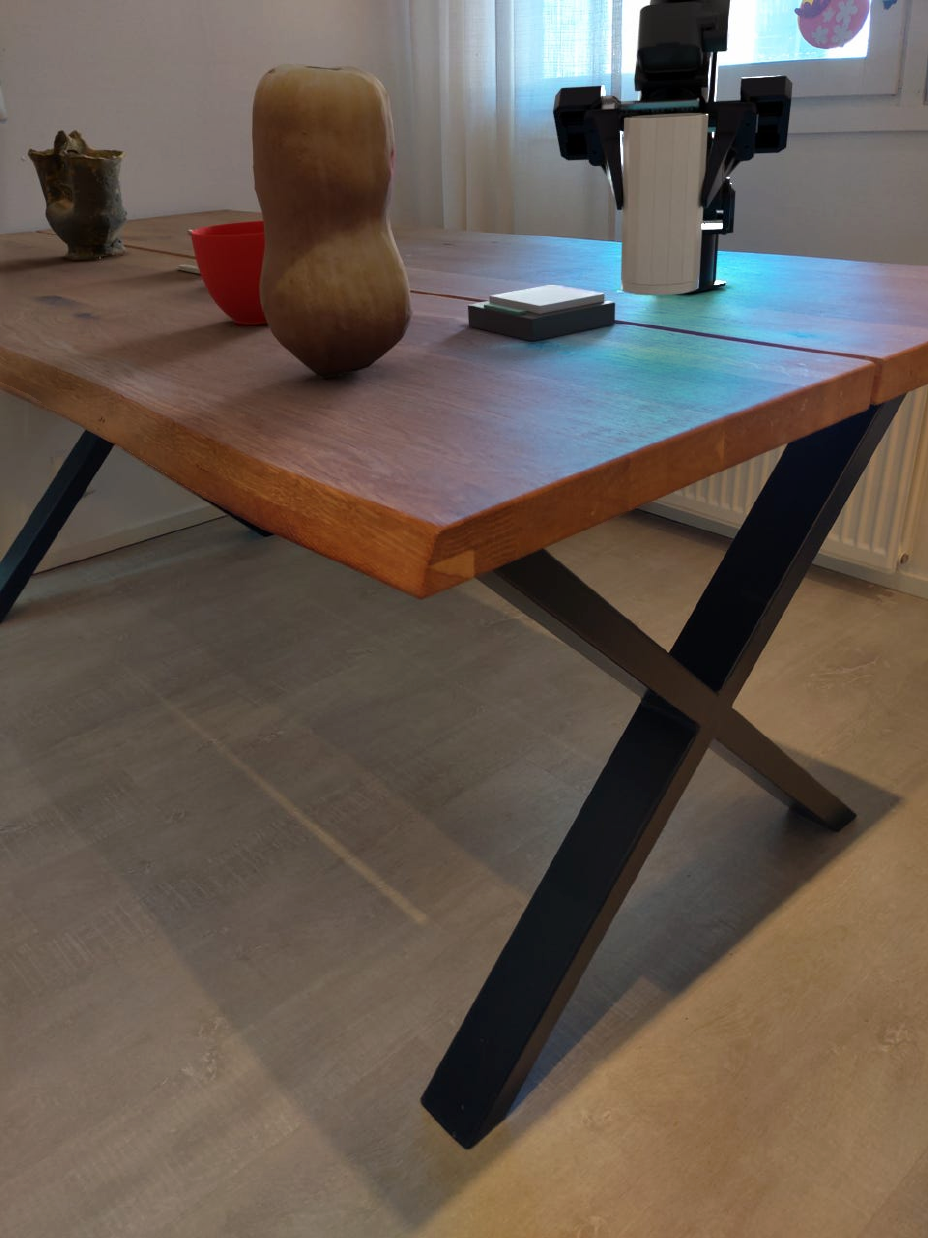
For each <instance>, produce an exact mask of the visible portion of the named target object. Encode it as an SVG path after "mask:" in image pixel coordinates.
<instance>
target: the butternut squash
mask: <svg viewBox="0 0 928 1238" xmlns="http://www.w3.org/2000/svg"><path fill="white" fill-rule="evenodd" d="M251 113H252V114H251V115H252V117H251V120H252V121H251V140H252V160H253V161H252V162H253V163H252V172H253V180H254V191H255V193H256V194H255V195H256V197H257V201H258V205H259V207H260V208H259V209H260V211H261V216H262V221H263V222H264V234H265V252H264V258H263V265H262V271H261V278H260V301H261V306H262V309H263V310H262V312H264V314H265V317H266V320H267V323H268V324H267V325H268V327H269V330H270V332H271V333H272V335H273V337H274V338H275V339H276V340H277V342H278V343H279V344H280V345H281V346H282V347H283V348H284V349H286V350H287V351H288V352H289V353H290V354H291V355H292V356H294V357H295V358H296V359H297V360H298V361H300V363H302V364H303V365H304V366H305V367H307V368H308V369H309V370H310V371H312V372H313V373H314V374H315V375H316V376H317V377H319V378H321V379H330V378H335V377H340V376H342V375H345V374H347V373H353V372H357V371H360V370H363V369H367V368H369V367H371V366H372V365H373V364H374V363H376V361H378V360H379V359H381V358H382V357H384V356H385V354H387V353H388V352H389V351H391V350H392V349H394V347H396V346H397V344H399V343H400V341H402V340H403V338H404V336H405V334H406V332H407V330H408V328H409V327H410V324H411V320H412V317H413V309H412V299H411V289H410V282H409V277H408V274H407V271H406V268H405V264H404V262H403V259H402V256H401V253H400V251H399V249H398V246H397V243H396V240H395V238H394V234H393V230H392V226H391V205H392V197H393V188H394V176H395V166H396V165H395V163H396V153H397V148H396V141H395V133H394V122H393V116H392V110H391V102H390V97H389V94H388V93H387V90H386V88H385V86H384V85H383V84H382V82H381V81H380V80H379V79H378V78H376V76H374V75H373V74H372V73H370V72H368V71H366V70H364V69H362V68H359V67H356V66H351V65H338V66H330V67H322V66H315V65H309V64H304V63H281V64H280V63H279V64H277V65H274V66H272V67H271V68H269V69H268V70H267V71H266V72H265V73H264V74H263V75H262V76H261V78H260V79H259V81H258V84H257V86H256V89H255V93H254V97H253V103H252V112H251Z"/></svg>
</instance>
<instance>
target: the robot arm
mask: <svg viewBox="0 0 928 1238" xmlns="http://www.w3.org/2000/svg"><path fill="white" fill-rule="evenodd" d="M730 20H731V0H649V4H647V5H645V6H643V7H642V8H640V10H639V16H638V31H637V43H636V44H637V45H636V61H635V70H634V77H633V82H634V91H635V92H638V95H637V100H619V98H618V97H617V96H615V95H609V94H608V95H606V89H605V85H587V86H586V85H585V86H569V87H561V88H560V89H559V90H558V91H557V93H556V94H555V95H554V101H553V107H552V115H553V116H552V117H553V121H554V126H555V133H556V137H557V144H558V148H559V154H560V157H561V158H563V159H564V160H566V161H569V162H570V161H588V163H589V165H591V166H592V167H600V168H601V169H602V172H603V173H604V175H605V177H606V179H607V181H608V183H609V186H610V190H611V194H612V197H613V201H614V204H615V208H616V210H617V211H622V207H623V159H624V148H623V141H622V138H623V132H624V118H626V117H632V116H642V115H657V114H677V113H708V130H707V148H706V166H705V179H704V184H703V196H702V208H703V219H702V237H701V255H700V273H699V287H698V289H696V290H694V291H691V292H687V293H686V294H693V293H698V292H704V291H709V290H712V289H717V288H723V287H726V284H727V282H726V281H723V280H717V270H718V268H717V267H718V255H719V254H718V253H719V252H718V251H719V237H720V235H721V236H727V235H728V234H733V233H734V227H735V213H736V211H735V210H736V193H737V191H736V190H735V188H734V187H733V185H732V183H731V176H730V175H731V174H732V173H733V172H734V171H735V169H736V168H737V167H738V166H739V164H740V163H742V162H749V161H752V159H753V158H754V157H755V155H757V154H759V155H760V154H779V153H781V152H782V151H783V150H785V149H786V148H787V145H788V134H789V127H790V126H789V125H790V116H791V106H792V97H793V96H792V95H793V85H794V84H793V82H792V81H791V80H790V78H789V77H787V75H770V76H768V75H766V76H752V77H751V76H749V77H741V78H740V87H739V88H740V89H739V95H740V96H739V97H740V99H738V100H737V99H735V100H717V89H718V75H719V74H718V73H719V58H720V53H721V52H724V53H725V52H727V51H728V48H729V35H730V22H731V21H730ZM729 176H730V177H729ZM717 221H721V223H712V222H717ZM707 222H708V223H707ZM710 222H711V223H710ZM704 223H705V224H704Z"/></svg>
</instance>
